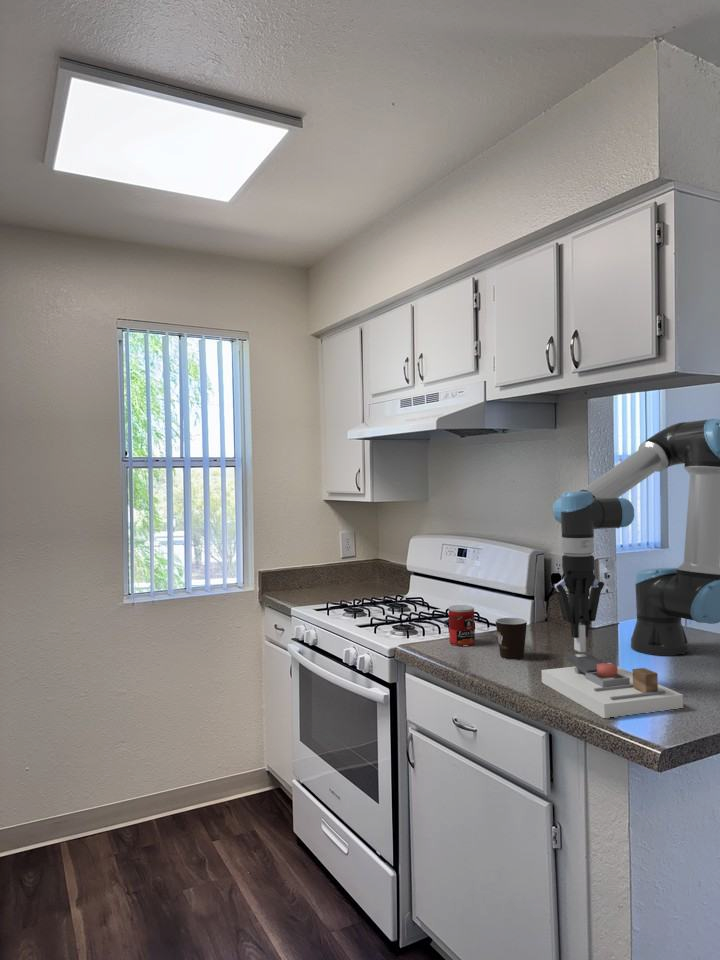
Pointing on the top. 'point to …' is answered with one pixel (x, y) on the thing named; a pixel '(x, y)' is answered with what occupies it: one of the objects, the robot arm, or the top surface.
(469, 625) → the canned food
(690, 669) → the top surface
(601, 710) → the panel
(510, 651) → the coffee mug
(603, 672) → the red button
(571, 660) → the tall dark grey panel
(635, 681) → the slider knob
